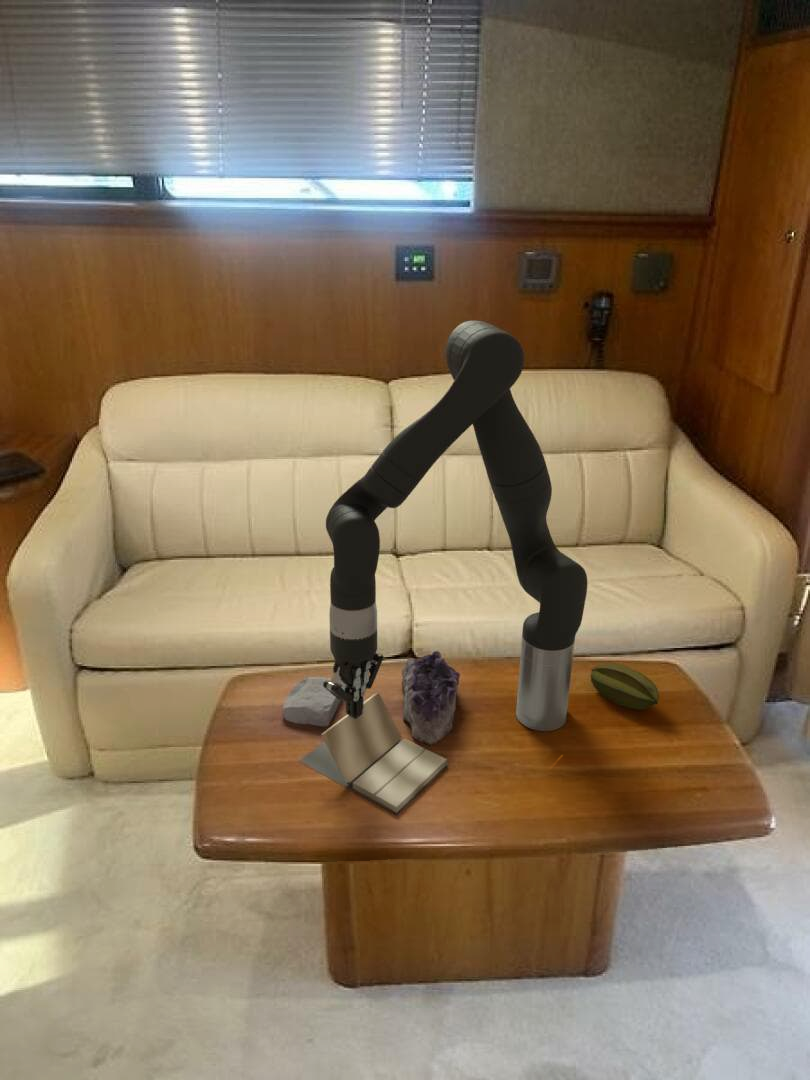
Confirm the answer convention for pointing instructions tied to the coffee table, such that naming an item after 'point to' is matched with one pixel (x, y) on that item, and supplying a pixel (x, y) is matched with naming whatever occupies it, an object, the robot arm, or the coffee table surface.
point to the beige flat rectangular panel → (361, 738)
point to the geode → (429, 697)
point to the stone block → (310, 703)
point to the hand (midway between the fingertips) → (354, 714)
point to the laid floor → (385, 774)
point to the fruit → (624, 686)
